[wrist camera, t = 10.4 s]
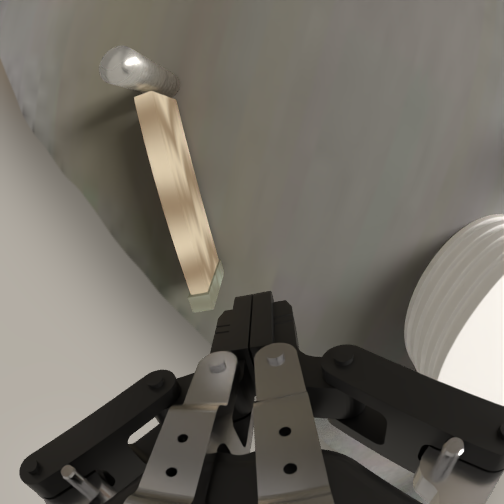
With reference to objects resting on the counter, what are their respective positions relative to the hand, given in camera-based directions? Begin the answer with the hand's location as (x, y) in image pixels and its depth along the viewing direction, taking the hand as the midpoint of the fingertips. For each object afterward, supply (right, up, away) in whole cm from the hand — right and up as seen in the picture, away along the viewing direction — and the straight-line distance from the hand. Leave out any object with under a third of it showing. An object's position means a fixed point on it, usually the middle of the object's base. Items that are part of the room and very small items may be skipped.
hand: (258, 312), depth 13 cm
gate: (-7, +9, +19) cm, 22 cm away
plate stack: (+34, -5, +24) cm, 42 cm away
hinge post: (-9, +20, +16) cm, 27 cm away
